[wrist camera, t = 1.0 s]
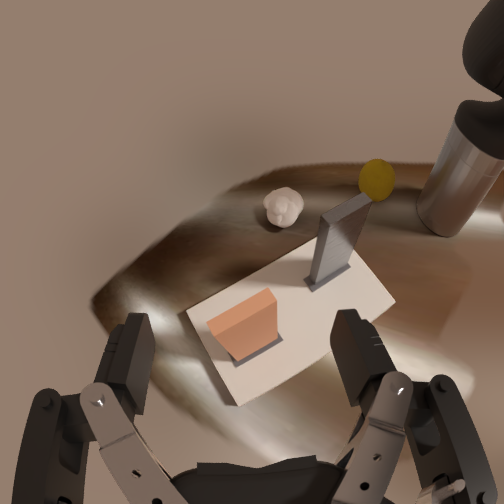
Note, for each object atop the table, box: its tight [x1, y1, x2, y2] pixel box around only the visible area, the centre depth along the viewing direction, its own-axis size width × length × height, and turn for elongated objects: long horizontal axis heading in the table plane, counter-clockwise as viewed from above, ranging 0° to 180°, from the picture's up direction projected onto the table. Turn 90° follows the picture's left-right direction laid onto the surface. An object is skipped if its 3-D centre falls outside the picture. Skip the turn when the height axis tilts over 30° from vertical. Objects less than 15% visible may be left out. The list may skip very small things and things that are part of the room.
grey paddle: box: [309, 192, 372, 285], centre depth 28 cm, size 5×1×12 cm, turn 120°
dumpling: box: [263, 187, 304, 228], centre depth 40 cm, size 7×5×4 cm
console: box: [186, 237, 396, 407], centre depth 33 cm, size 22×13×2 cm, turn 120°
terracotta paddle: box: [206, 287, 278, 361], centre depth 24 cm, size 5×1×12 cm, turn 120°
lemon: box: [358, 159, 395, 202], centre depth 38 cm, size 6×6×8 cm
